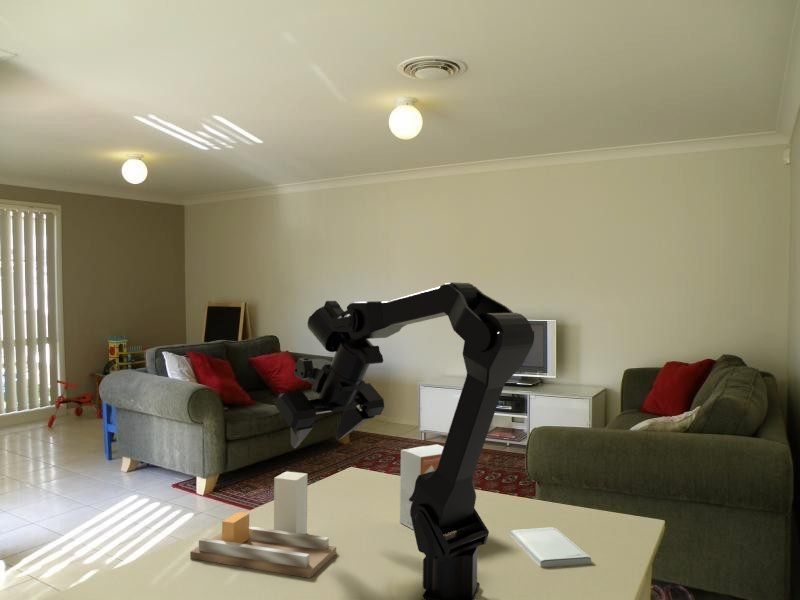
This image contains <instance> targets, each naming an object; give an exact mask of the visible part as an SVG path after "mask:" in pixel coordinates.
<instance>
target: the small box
mask: <svg viewBox="0 0 800 600" xmlns="http://www.w3.org/2000/svg"><path fill="white" fill-rule="evenodd" d="M443 448H444V445H440V444H437V443H436V444H431V445H423V446H416V447H412V448H406V449H401V450H400V478H399V480H400V482H399V483H400V486H399V487H400V491H399V498H400V499H399V502H400V503H399V523H401V524H402V525H404V526H406V527H407V528H409V529H411V530H413V531H414V529H413V524H412V519H411V516H410V509H411V504H412V501H409V498H410V497H411V496H412V494H413V492H414V488H415V482H416V479H417V477H418V476H419V475H421V474H425V473H428V472H432V471H435V470H436V468H437V466H438V463H439V460H440V457H441V454H442V451H443Z"/></svg>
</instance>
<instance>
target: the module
mask: <svg viewBox="0 0 800 600" xmlns="http://www.w3.org/2000/svg"><path fill="white" fill-rule="evenodd" d="M308 476H309V474H308V473H305V472H296V471H285V472H282V473H281V474H279V475H277V476H275V477H274V478H273V480H274V485H273V490H274V492H273V494H274V495H273V499H274V500H273V501H274V502H273V530H280V531H287V532H294V533H301V534H308Z"/></svg>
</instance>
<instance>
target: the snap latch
mask: <svg viewBox="0 0 800 600" xmlns="http://www.w3.org/2000/svg"><path fill="white" fill-rule="evenodd" d="M221 522H222V523H221V528H222V529H221V533H222V541H227V542H234V543H240V544H242V543H243V542H245V541H246V540H248V539H249V526H250V513H248V512H242V511H237V512H236V513H234V514H232V515H231V516H229V517H227V518H225V519H223V520H222V521H221Z"/></svg>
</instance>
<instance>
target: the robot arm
mask: <svg viewBox="0 0 800 600" xmlns="http://www.w3.org/2000/svg"><path fill="white" fill-rule="evenodd" d="M445 316H447V317H448V319H449V320H448V321H449V322H450V325H451V327H452V330H453V331H454V332H455V333H456V334H457V336H459V337H460V338H461V339H462V340H463V348H462V349H463V350H462V357H463V362H464V367H465V371H466V376H465V379H464V383H463V386H462V388H461V393H460V395H459V398H458V402H457V405H456V408H455V411H454V414H453V417H452V420H451V423H450V427H449V428H448V429H449V430H448V433H447V434H446V435H447V436H446V438H445V441H444V445H443V447H444V448H443V451H442V454H441V457H440V460H439V463H438V466H437V468H436V470H435V471H432V472H428V473H425V474H421V475H419V476H418V477H417V479H416V482H415V488H414V492H413V494H412V496H411V497H410V498H409V501H412V504H411V509H410V516H411V519H412V524H413V529H414V530H413V529H412V530H413V531H414V532H413V533H414V538H415V541H416V545H417V549H418V551H419V552H420V553H422V554H424V555H425V556H424V557H423V559H422V589H423V590H425V591H424V592H423V594H422V600H475V599H476V597H477V595H478V592H479V590H480V585H481V583H480V582H478V547H480V546H485V545H486V544H487V540H488V537H489V534H490V533H489V532H490V531H489V529H488V528H487V526H486V524H485V523H484V521H483V519H482V518H481V516H480V515H479V513H478V511H477V510H476V508H475V506H476V500H477V494H476V489H475V485H474V481H473V478H474V474H475V473H476V472H475V471H476V468H477V465H478V462H479V460H480V457H481V454H482V450H483V447H484V445H485V442H486V439H487V436H488V434H489V430H490V429H491V428H490V427H491V425H492V421H493V419H494V415H495V413H496V411H497V410H496V409H497V407H498V404H499V402H500V401H499V400H500V398H501V395H502V392H503V389H504V387H505V385H506V383H507V382H508V381H509V380H510V379H511V378H512V377H513V376H514V375H515V374H516V372H517V371H518V370H519V369H520V368H521V367H522V365H523V364H524V362H525V361H526V359H527V357H528V355H529V353H530V351H531V349H532V347H533V345H534V341H535V331H534V330H533V329H532V324H531V322H529V320H528V318H527V317H525V316H524V315H522V314H521V313H518V312H514V311H513V310H511V309H510V308H509V307H507V306H506V305H505V304H502V303H501V302H500V301H497V300H495V299H493V298H491V296H488V295H486V294H484V293H483V292H482V291H481V290H480V289H478V288H477V287H476V286H474V285H473V284H471V283H470V282H446V283H443V285H442V284H441V285H440V286H437V287H433V288H430V289H427V290H423V291H420V292H415V293H412V294H409V295H405V296H402V297H401V296H400V297H398V298H395V299H394V298H393V299H391V300H388V301H386V300H385V301H383V300H382V301H378V300H377V301H352V302H350V303H349V304H348V305H347V306H346V310H343V308H342V307H341V305H340V304H339V303H338V301H336V300H326V301H325V303H324V305H323V306H321V307H319V308H318V309H316V310H315V311H314V312H312V314H311V315H310V316H309V317H308V320H307V328H308V330H309V331H310V332H311V333H312V334H313V336H314V337H315V338H316V339H317V341H318V342H319V343H320V344H321V346H322V347H323V348H324V349H325V350H326V351H327V352H330V353H334V356H333V358H332V361H330V360H328V359H325V358H313V359H309V358H308V357H302V358H301V357H300V358H298V360H297V361H296V364H295V366H294V372H293V373H294V375H295V377H297V378H299V379H300V380H302V381H306V382H308V383H309V384H311V390H312V392H313V393H314V394H317V399H316V398H315V399H309V398H308V397H307V396H306V394H305V393H304V391H302V390H298V391H293V392H292V391H291V392H283V393H279V395H278V398H277V400H276V402H275V404H274V406H275V407H276V409H277V410H278V412H279V413H280V415H281V417H282V418H283V419H284V420H285V422H286V423H287V425H288V426H289V428H290V445H291V447H292V448H293V449H296V448H297V447H299V446H300V445H301V443H302V442H303V441H304V440H305V438H306V437H307V436H308V435H309V433H310V432H311V431H312V429H313V428H314V426H313V424H315V421H316V419H317V415H319V414H325V413H335V412H343V414H342V416H341V418H340V421H339V424H338V426H337V429H336V433H335V437H336V439H337V441H340V440H342V439H343V438H344V437H346V436H347V435H348V434H351V433H352V432H353V431H354V430H357V428H359V427H361V426H362V425H364V424H365V423H367V422H368V421H370V420H373V419H374V418H375V417H377V416H381V415H382V412H383V410H384V408H385V400H384V397H382V395H381V394H379V392H378V391H377V390H376V389H375V388H374V386H373V385H372V384H371V383H366V382H365V380H364V378H365V377H366V374H367V371H368V369H369V367H370V365H374V364H382V363H383V362H384V358H383V354H382V353H381V351H380V346H379V345H373V343H372V342H371V341H370V340H369V339H371V340H372V339H386V338H388V337H390V336H392V335H395V334H396V333H399V332H400V331H401V330H402V328H404V327H406V326H407V325H412V324H416V323H421V322H424V321H428V320H433V319H437V318H442V317H445ZM383 364H384V363H383ZM453 532H454V533H453ZM447 534H448V535H447Z"/></svg>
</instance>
